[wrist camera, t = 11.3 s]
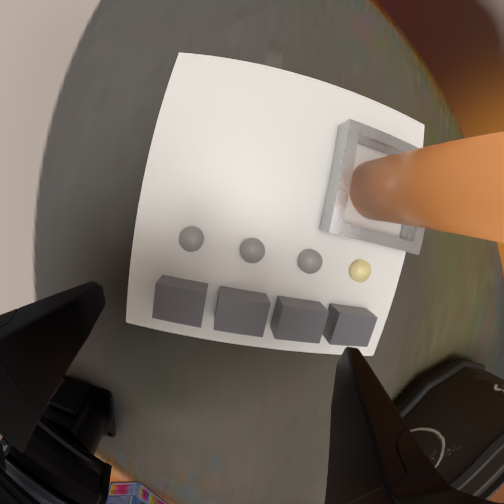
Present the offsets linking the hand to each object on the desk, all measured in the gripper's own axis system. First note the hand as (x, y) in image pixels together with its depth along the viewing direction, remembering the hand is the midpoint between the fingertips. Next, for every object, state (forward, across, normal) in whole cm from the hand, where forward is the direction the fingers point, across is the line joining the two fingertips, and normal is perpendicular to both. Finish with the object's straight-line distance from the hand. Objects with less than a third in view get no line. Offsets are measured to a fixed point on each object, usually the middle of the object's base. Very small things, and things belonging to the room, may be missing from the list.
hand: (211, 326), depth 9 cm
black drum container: (+11, -24, +21) cm, 34 cm away
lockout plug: (+14, -7, -3) cm, 16 cm away
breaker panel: (+12, -1, 0) cm, 12 cm away
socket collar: (+14, -7, -3) cm, 16 cm away
